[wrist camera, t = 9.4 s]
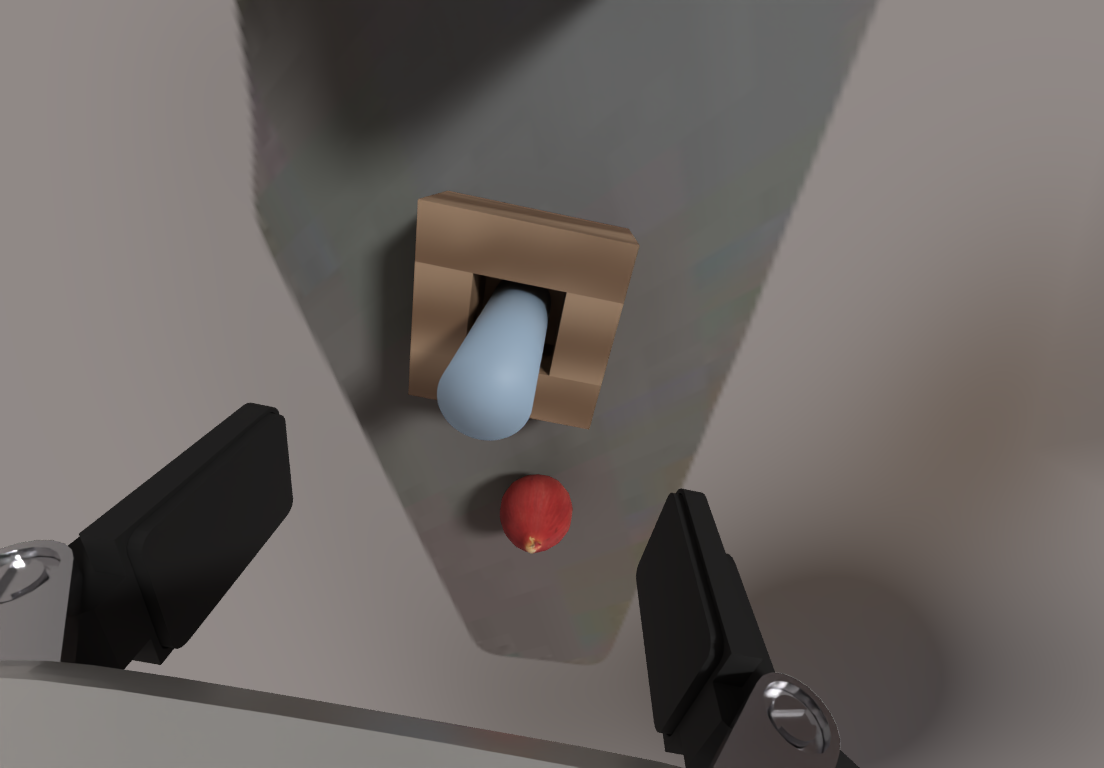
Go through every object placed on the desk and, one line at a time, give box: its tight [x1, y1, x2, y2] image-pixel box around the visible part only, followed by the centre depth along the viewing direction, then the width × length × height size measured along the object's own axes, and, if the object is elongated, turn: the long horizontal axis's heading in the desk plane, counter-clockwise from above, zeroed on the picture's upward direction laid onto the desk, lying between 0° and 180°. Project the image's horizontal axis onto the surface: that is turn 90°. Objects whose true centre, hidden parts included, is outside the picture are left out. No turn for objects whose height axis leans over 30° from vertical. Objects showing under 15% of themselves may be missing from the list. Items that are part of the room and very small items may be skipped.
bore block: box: [408, 191, 639, 429], centre depth 29 cm, size 12×12×6 cm
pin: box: [437, 279, 551, 440], centre depth 25 cm, size 4×4×14 cm
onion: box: [500, 474, 573, 554], centre depth 36 cm, size 6×6×8 cm
